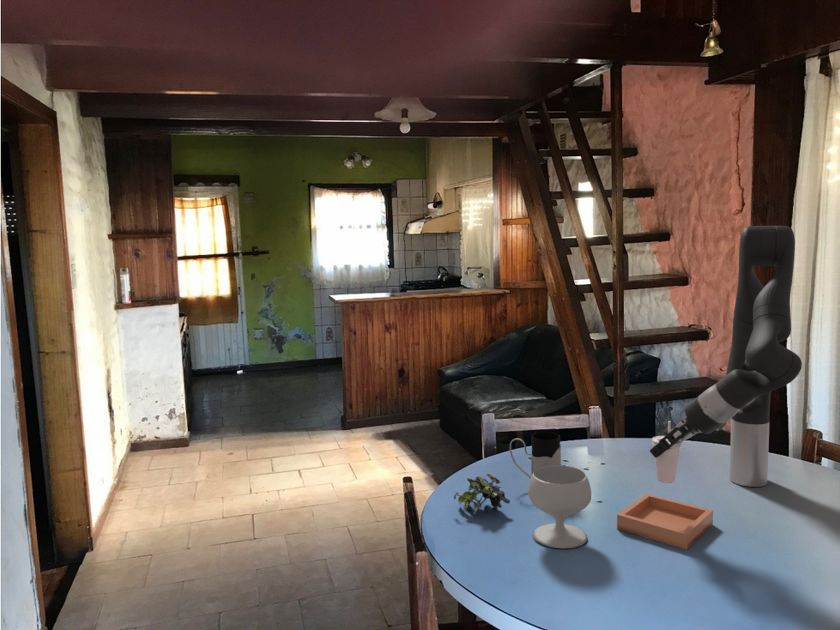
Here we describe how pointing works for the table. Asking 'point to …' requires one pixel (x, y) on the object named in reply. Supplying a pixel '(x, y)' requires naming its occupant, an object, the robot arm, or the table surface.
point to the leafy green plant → (483, 493)
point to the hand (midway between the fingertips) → (659, 450)
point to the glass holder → (542, 450)
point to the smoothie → (667, 460)
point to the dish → (665, 520)
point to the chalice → (559, 503)
